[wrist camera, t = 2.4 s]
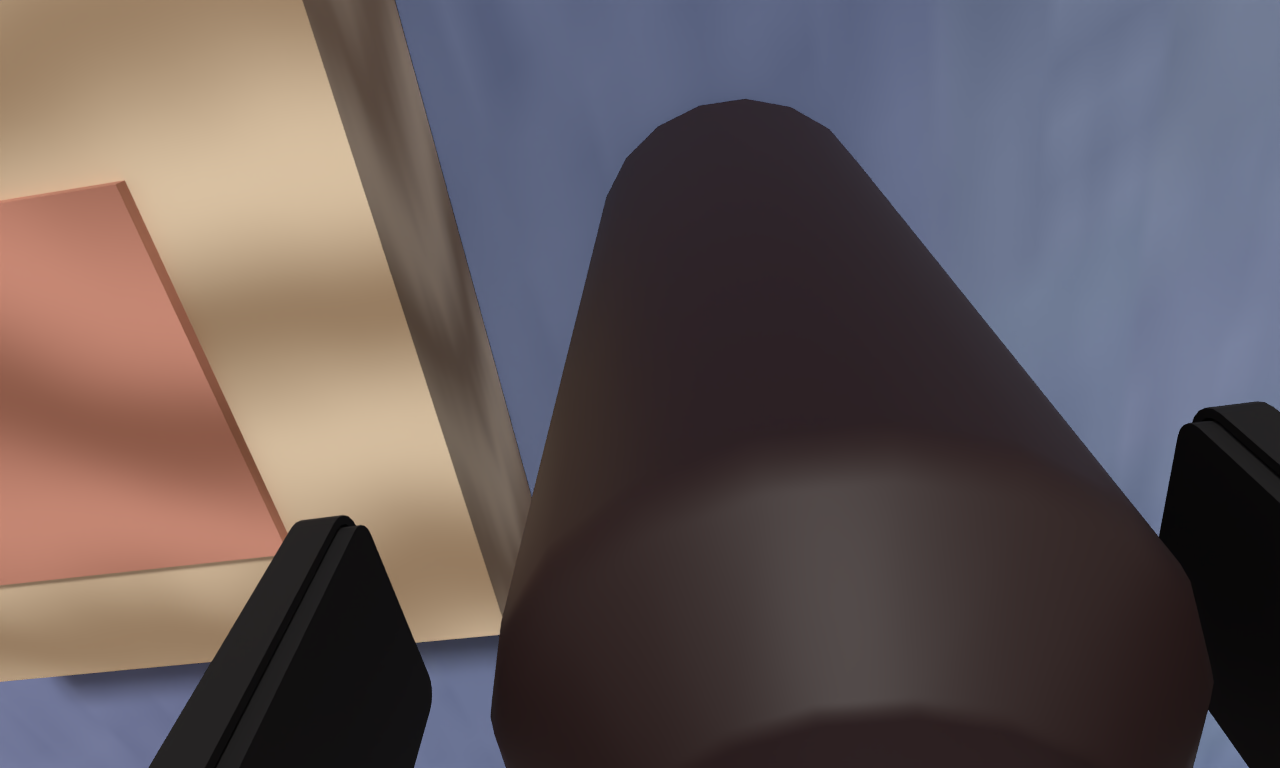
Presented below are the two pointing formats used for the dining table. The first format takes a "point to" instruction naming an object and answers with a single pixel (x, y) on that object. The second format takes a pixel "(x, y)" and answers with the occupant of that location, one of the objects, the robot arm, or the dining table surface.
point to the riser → (231, 329)
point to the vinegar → (820, 502)
